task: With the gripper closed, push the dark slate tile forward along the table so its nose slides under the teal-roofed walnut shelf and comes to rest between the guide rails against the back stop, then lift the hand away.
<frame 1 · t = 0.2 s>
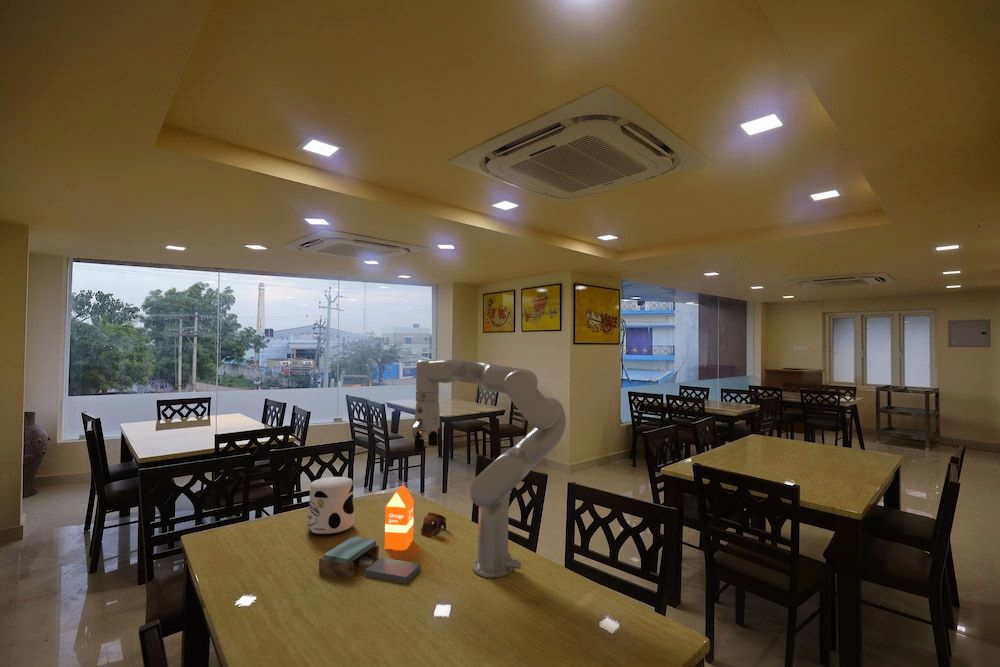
hand: (426, 448, 158), 36 cm above the table, tool pointing down, fingers open, 9 cm apart
orange juice: (399, 545, 167), on the table
slate tile: (393, 574, 146), on the table
pottery mug: (434, 533, 178), on the table
shelf dock: (351, 565, 151), on the table
milk container: (330, 530, 180), on the table
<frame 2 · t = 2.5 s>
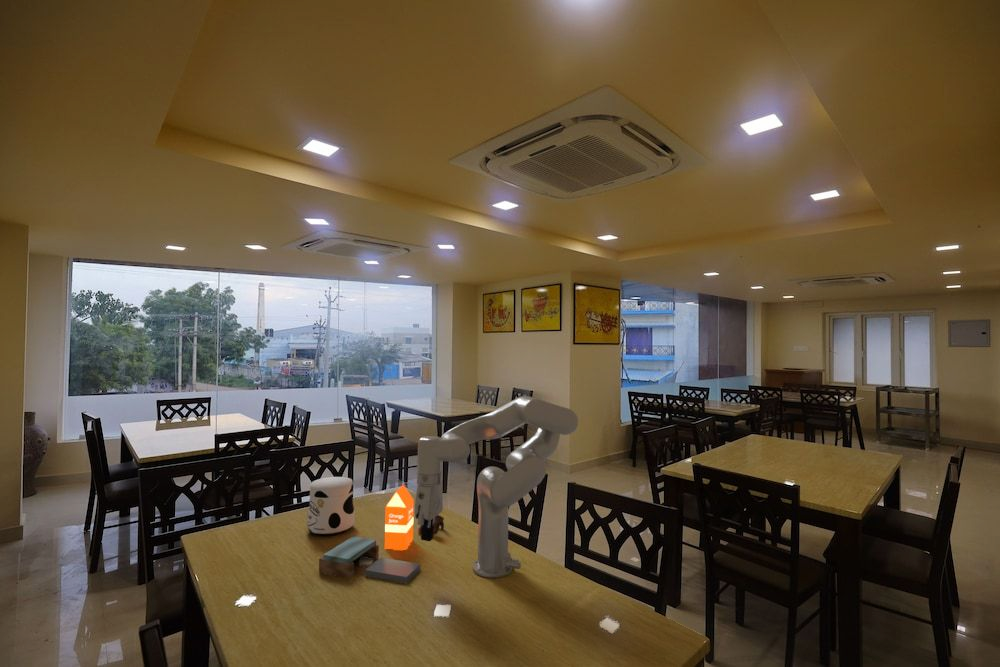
hand: (427, 539, 143), 12 cm above the table, tool pointing down, fingers closed
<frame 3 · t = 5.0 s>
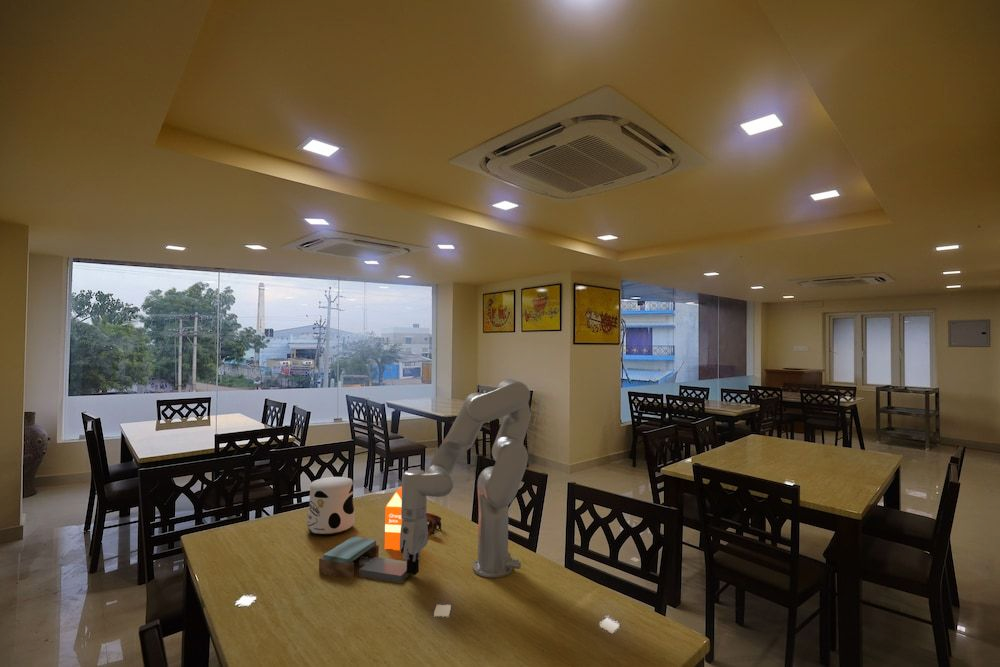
hand: (412, 572, 144), 1 cm above the table, tool pointing down, fingers closed
slate tile: (387, 573, 147), on the table
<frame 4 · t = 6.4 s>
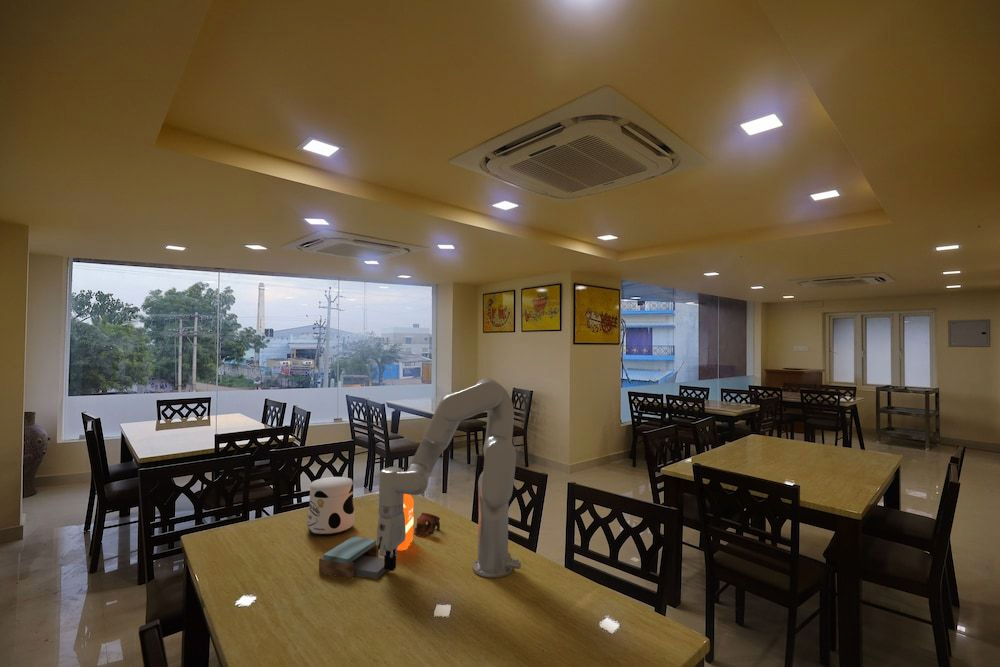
hand: (390, 568, 147), 1 cm above the table, tool pointing down, fingers closed
slate tile: (364, 570, 149), on the table
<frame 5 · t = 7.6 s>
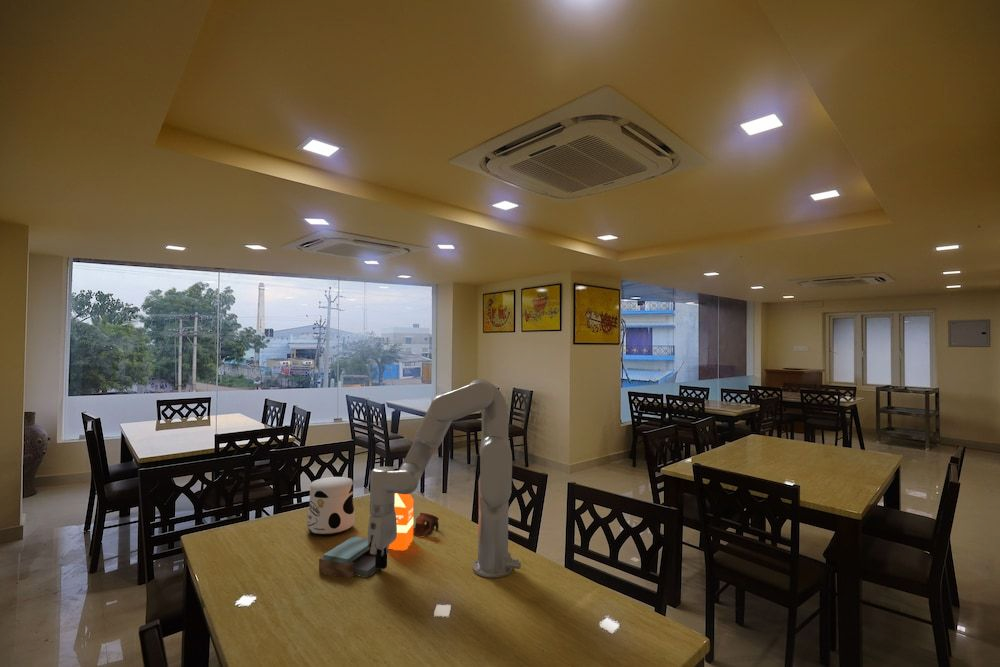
hand: (381, 567, 148), 1 cm above the table, tool pointing down, fingers closed
slate tile: (356, 568, 150), on the table
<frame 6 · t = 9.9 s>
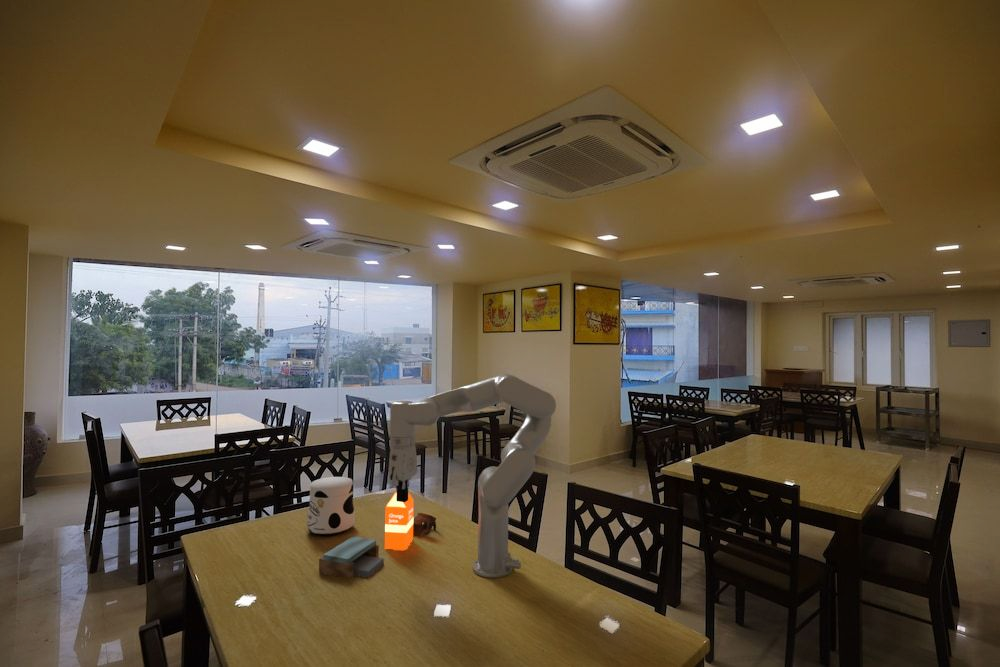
hand: (402, 500, 147), 22 cm above the table, tool pointing down, fingers closed
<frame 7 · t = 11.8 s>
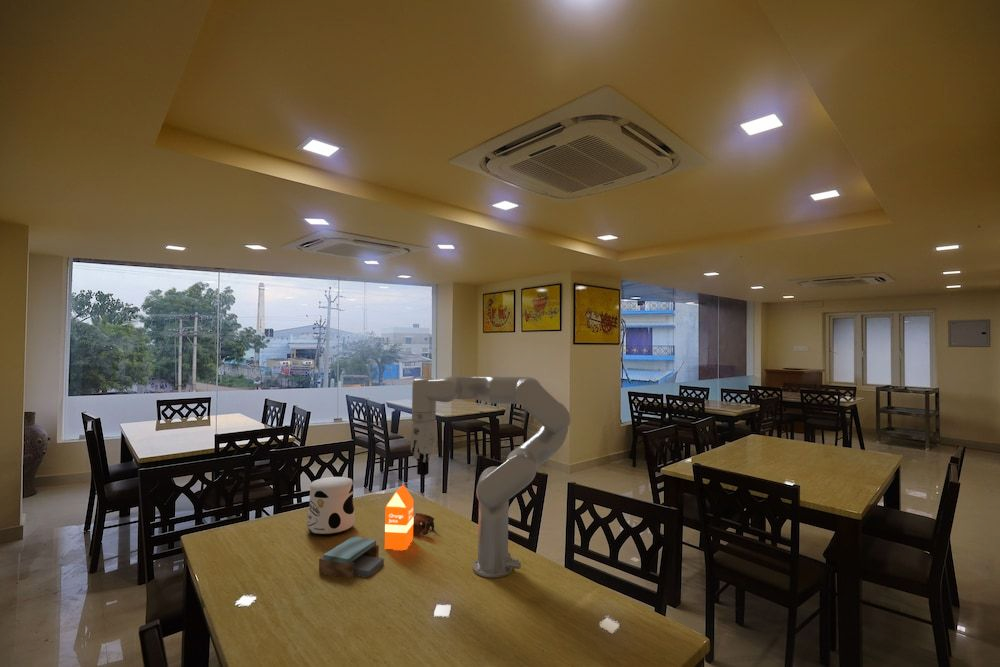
hand: (422, 474, 152), 29 cm above the table, tool pointing down, fingers closed
at the end: slate tile 0.7 cm from the target spot on the shelf dock, point -0.6 cm above the shelf dock's base; slate tile tilted 0° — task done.
